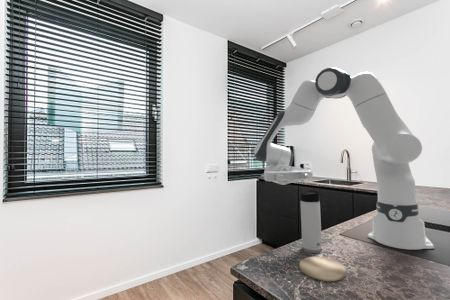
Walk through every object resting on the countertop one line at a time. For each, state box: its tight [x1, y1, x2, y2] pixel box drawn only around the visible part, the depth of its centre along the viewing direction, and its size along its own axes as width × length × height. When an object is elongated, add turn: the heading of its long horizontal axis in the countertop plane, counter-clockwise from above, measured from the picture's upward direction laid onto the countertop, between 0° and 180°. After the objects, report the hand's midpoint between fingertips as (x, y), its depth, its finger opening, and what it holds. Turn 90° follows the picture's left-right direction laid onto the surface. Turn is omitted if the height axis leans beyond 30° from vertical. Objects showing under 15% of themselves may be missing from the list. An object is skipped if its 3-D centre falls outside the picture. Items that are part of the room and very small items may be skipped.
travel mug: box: [299, 190, 323, 254], centre depth 79 cm, size 6×7×20 cm
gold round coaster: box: [299, 256, 347, 282], centre depth 65 cm, size 12×12×1 cm
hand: (295, 177), depth 90 cm, fingers open, 8 cm apart
